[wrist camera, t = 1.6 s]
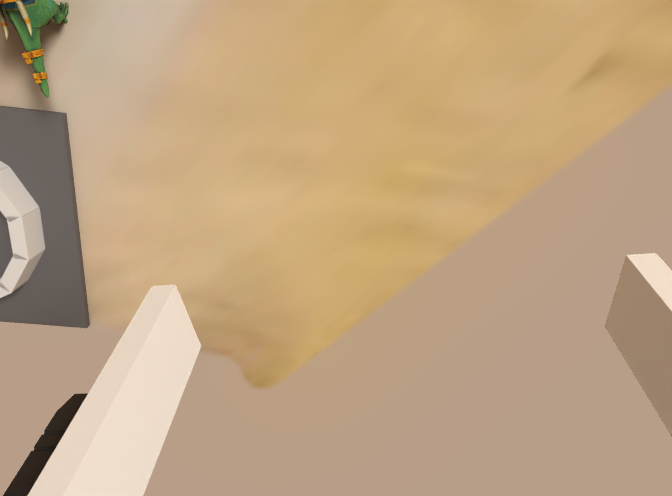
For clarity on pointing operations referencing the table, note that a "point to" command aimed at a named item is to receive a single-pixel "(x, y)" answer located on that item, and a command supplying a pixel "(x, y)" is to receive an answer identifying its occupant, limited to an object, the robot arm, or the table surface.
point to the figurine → (32, 29)
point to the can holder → (39, 222)
